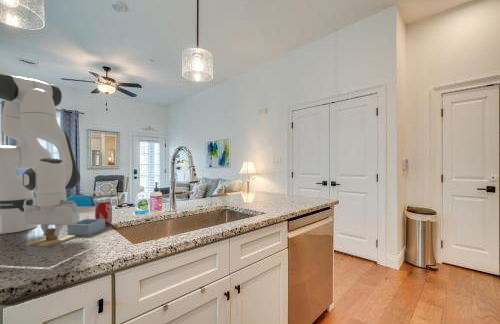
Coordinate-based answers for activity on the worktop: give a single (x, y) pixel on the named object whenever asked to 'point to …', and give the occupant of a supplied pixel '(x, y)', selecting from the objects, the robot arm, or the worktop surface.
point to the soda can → (104, 211)
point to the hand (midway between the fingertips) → (51, 235)
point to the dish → (86, 227)
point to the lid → (50, 239)
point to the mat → (54, 245)
